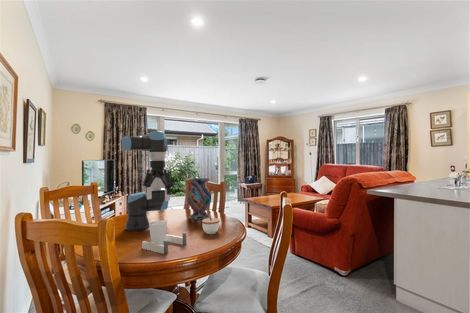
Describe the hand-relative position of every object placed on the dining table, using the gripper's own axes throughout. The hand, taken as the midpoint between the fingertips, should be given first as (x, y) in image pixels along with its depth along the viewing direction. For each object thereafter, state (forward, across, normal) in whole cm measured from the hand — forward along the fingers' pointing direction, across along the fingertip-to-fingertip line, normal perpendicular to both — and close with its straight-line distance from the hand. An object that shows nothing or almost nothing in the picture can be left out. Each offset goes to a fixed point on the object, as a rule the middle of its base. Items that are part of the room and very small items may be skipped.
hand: (158, 199), depth 128 cm
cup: (+24, 0, 0) cm, 24 cm away
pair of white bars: (+24, +4, 0) cm, 24 cm away
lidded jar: (+24, +13, +30) cm, 41 cm away
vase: (+24, -17, +58) cm, 65 cm away
